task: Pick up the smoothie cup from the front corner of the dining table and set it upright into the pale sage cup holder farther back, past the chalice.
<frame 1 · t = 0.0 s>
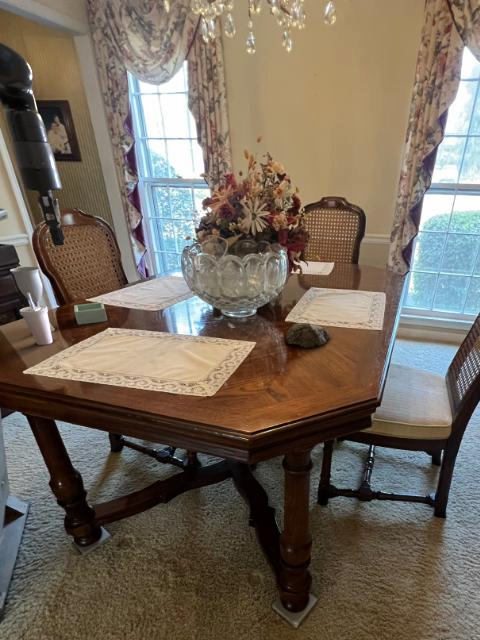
hand: (59, 242, 94), 26 cm above the table, tool pointing down, fingers open, 8 cm apart
dark rough stone: (306, 340, 110), on the table
chalice: (45, 331, 115), on the table
holder: (92, 319, 125), on the table
smoothie: (45, 343, 107), on the table
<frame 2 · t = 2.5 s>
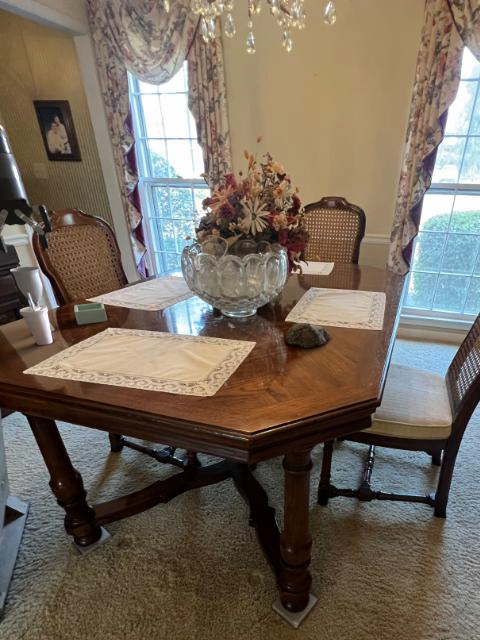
hand: (25, 251, 95), 24 cm above the table, tool pointing down, fingers open, 8 cm apart
nothing on the table moved.
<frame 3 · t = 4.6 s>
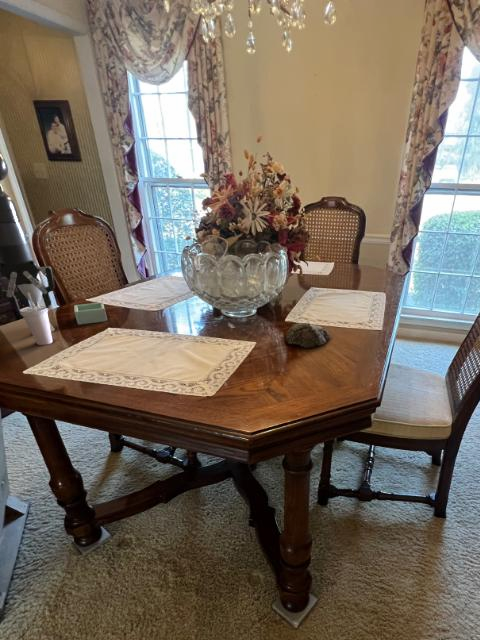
hand: (33, 308, 102), 10 cm above the table, tool pointing down, fingers closed on smoothie, 6 cm apart
smoothie: (45, 343, 107), on the table, touching gripper
everything else where it was.
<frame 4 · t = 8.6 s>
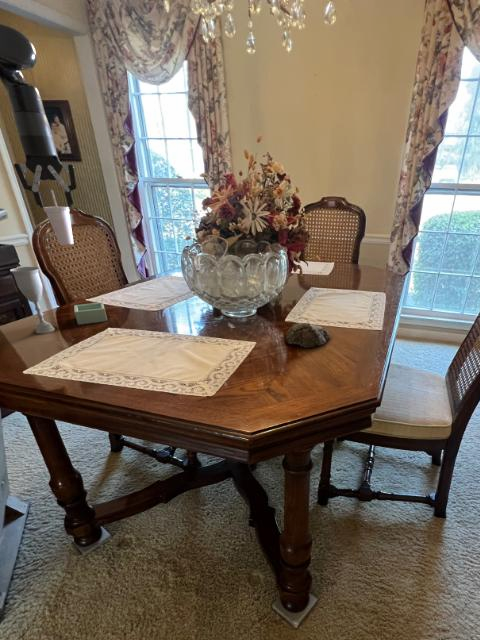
hand: (56, 207, 106), 33 cm above the table, tool pointing down, fingers closed on smoothie, 6 cm apart
smoothie: (66, 244, 111), point 23 cm above the table, touching gripper
everything else where it was.
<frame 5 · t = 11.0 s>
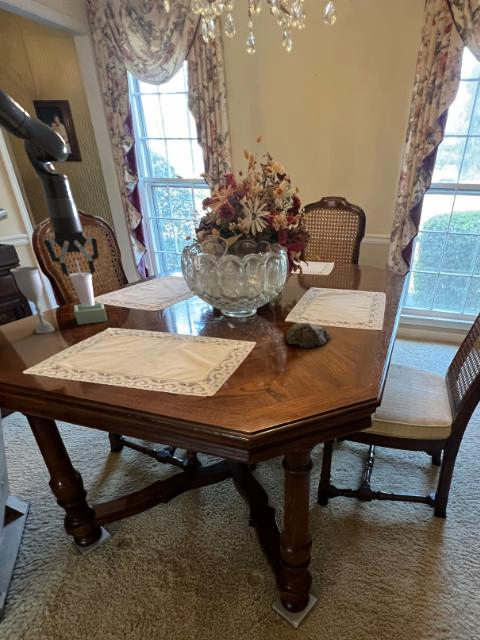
hand: (80, 274, 118), 14 cm above the table, tool pointing down, fingers closed on smoothie, 6 cm apart
smoothie: (88, 305, 123), point 5 cm above the table, touching gripper
everything else where it was.
when the fingers open (11 cm above the table, at t = 12.7 s): smoothie stays where it is, resting on holder.
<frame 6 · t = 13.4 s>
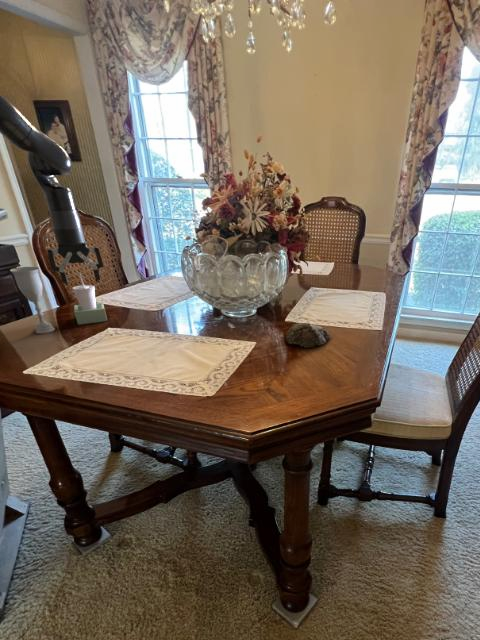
hand: (82, 283, 119), 12 cm above the table, tool pointing down, fingers open, 8 cm apart
smoothie: (91, 317, 125), point 1 cm above the table, touching holder
everything else where it was.
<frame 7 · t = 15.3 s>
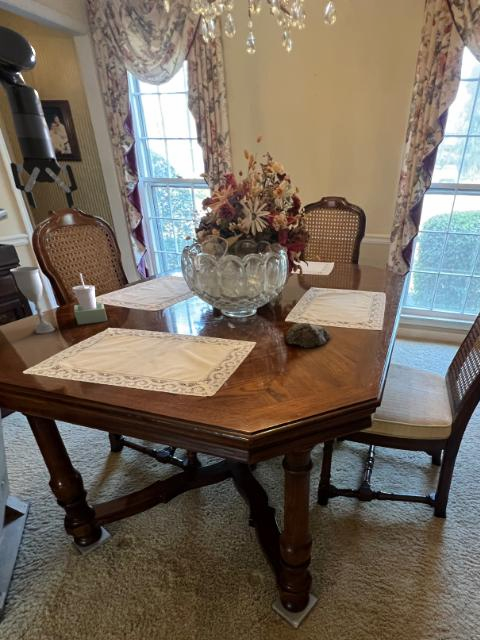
hand: (53, 208, 105), 33 cm above the table, tool pointing down, fingers open, 8 cm apart
nothing on the table moved.
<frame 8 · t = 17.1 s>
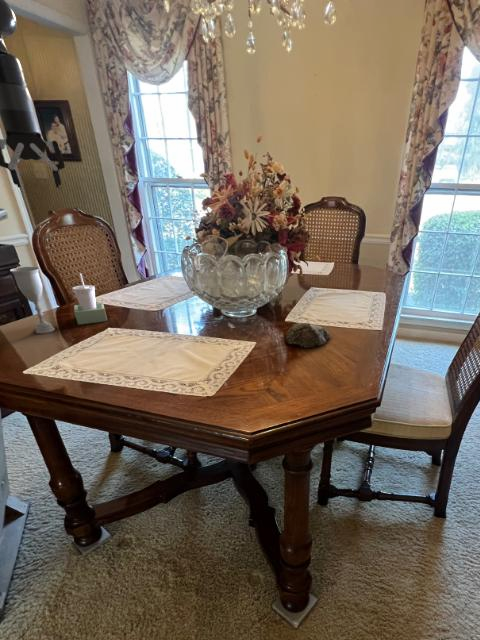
hand: (39, 187, 99), 38 cm above the table, tool pointing down, fingers open, 8 cm apart
nothing on the table moved.
at the end: smoothie 0.1 cm off-centre in the holder, point 0.6 cm above the holder's base; smoothie tilted 0°; the gripper is holding nothing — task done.
